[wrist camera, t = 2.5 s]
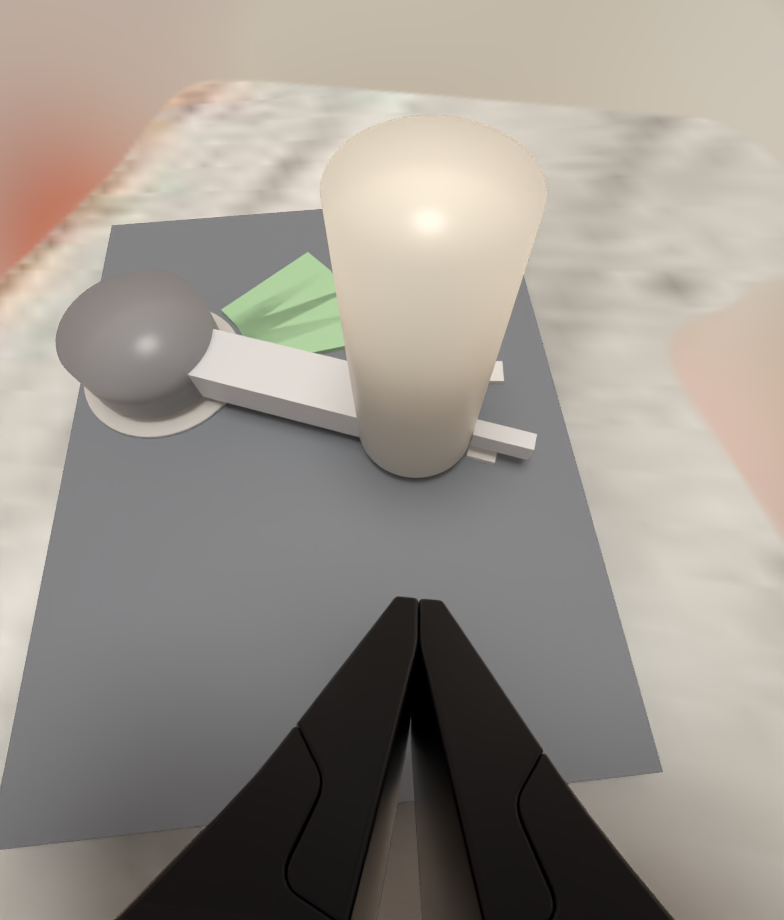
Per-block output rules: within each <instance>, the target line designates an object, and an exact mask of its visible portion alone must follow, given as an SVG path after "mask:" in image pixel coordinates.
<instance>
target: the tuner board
mask: <svg viewBox="0 0 784 920" xmlns="http://www.w3.org/2000/svg"><path fill="white" fill-rule="evenodd" d="M147 269H150V270H161V271H167V272H170V273H174V274H176V275H179V276H181V277H183V278H184V279H186V280H188V281H189V282H190V283H191V284H193V285H194V286H195V287H196V288H197V290H198V291H199V292H200V294H201V296H202V297H203V299H204V301H205V303H206V305H207V307H208V309H209V311H210V313H211V315H212V316H213V318H214V320H215V322H216V324H217V326H218V328H219V330H221V331H225V332H229V333H233V334H237V335H241V336H246V337H250V338H254V339H258V340H262V341H266V342H271V343H275V344H279V345H283V346H287V347H291V348H296V349H300V350H304V351H308V352H312V353H316V354H321V355H325V356H329V357H333V358H337V359H341V360H346V361H347V357H346V351H345V345H344V339H343V332H342V326H341V320H340V314H339V308H338V302H337V296H336V289H335V283H334V277H333V271H332V265H331V259H330V252H329V246H328V240H327V234H326V228H325V222H324V216H323V209H317V210H304V211H291V212H278V213H266V214H253V215H240V216H227V217H214V218H202V219H189V220H176V221H163V222H150V223H138V224H125V225H112V228H111V233H110V238H109V243H108V248H107V253H106V258H105V263H104V268H103V273H102V278H101V281H102V280H104V279H107V278H109V277H111V276H114V275H117V274H120V273H124V272H129V271H135V270H147ZM478 420H482V421H486V422H490V423H494V424H499V425H503V426H507V427H511V428H515V429H519V430H523V431H527V432H531V433H535V434H537V437H536V442H535V448H534V451H533V453H532V454H531V456H530V457H529V459H528V460H525V459H521V458H517V457H513V456H510V455H506V454H502V453H498V452H494V451H490V450H486V449H482V448H478V447H474V446H470V444H469V446H468V448H467V450H466V452H465V453H464V455H463V456H462V458H461V459H460V460H459V461H458V462H457V463H456V464H454V465H453V466H452V467H451V468H449V469H447V470H446V471H444V472H441V473H439V474H436V475H433V476H429V477H423V478H410V477H403V476H399V475H396V474H393V473H391V472H389V471H386V470H385V469H383V468H382V467H380V466H379V465H377V464H376V463H375V462H374V461H373V460H372V459H371V458H370V457H369V456H368V454H367V453H366V451H365V450H364V448H363V446H362V443H361V440H360V437H357V436H353V435H349V434H345V433H341V432H337V431H334V430H330V429H326V428H322V427H318V426H314V425H311V424H307V423H303V422H299V421H295V420H291V419H287V418H284V417H280V416H276V415H272V414H268V413H264V412H261V411H257V410H253V409H249V408H245V407H241V406H237V405H234V404H230V403H226V402H222V401H218V400H214V399H211V398H207V397H202V398H200V399H199V400H198V401H197V402H195V403H194V404H192V405H190V406H189V407H187V408H185V409H183V410H181V411H178V412H176V413H173V414H170V415H166V416H163V417H157V418H133V417H128V416H125V415H122V414H119V413H117V412H115V411H113V410H111V409H110V408H108V407H107V406H106V405H104V404H103V403H102V402H101V401H100V400H99V399H98V398H97V397H96V396H94V395H93V394H92V393H91V392H90V391H89V390H88V389H87V388H86V387H85V386H83V385H82V384H80V389H79V394H78V399H77V404H76V410H75V415H74V420H73V425H72V430H71V435H70V440H69V445H68V450H67V455H66V460H65V465H64V470H63V475H62V480H61V485H60V490H59V495H58V500H57V506H56V511H55V516H54V521H53V526H52V531H51V536H50V541H49V546H48V551H47V556H46V561H45V566H44V571H43V576H42V581H41V586H40V591H39V596H38V602H37V607H36V612H35V617H34V622H33V627H32V632H31V637H30V642H29V647H28V652H27V657H26V662H25V667H24V672H23V677H22V682H21V687H20V692H19V698H18V703H17V708H16V713H15V718H14V723H13V728H12V733H11V738H10V743H9V748H8V753H7V758H6V763H5V768H4V773H3V778H2V783H1V788H0V850H2V849H10V848H19V847H27V846H36V845H44V844H53V843H61V842H70V841H78V840H87V839H96V838H104V837H113V836H121V835H130V834H138V833H147V832H155V831H164V830H172V829H181V828H189V827H198V826H206V825H208V824H209V823H210V822H211V821H212V820H213V819H214V818H215V817H216V816H217V815H218V814H219V813H220V812H221V811H222V810H223V809H224V807H225V806H226V805H227V804H228V803H229V802H230V801H231V800H232V799H233V798H234V797H235V796H236V795H237V794H238V792H239V791H240V790H241V789H242V788H243V787H244V786H245V785H246V784H247V783H248V782H249V781H250V780H251V779H252V777H253V776H254V775H255V774H256V773H257V771H258V770H259V769H260V768H261V767H262V765H263V764H264V763H265V762H266V761H267V759H268V758H269V757H270V756H271V755H272V753H273V752H274V751H275V750H276V749H277V747H278V746H279V745H280V744H281V742H282V741H283V740H284V738H285V737H286V736H287V735H288V733H289V732H290V731H291V729H292V728H293V727H296V724H297V722H298V721H299V720H300V718H301V717H302V716H303V714H304V713H305V712H306V711H307V709H308V708H309V707H310V705H311V704H312V703H313V702H314V700H315V699H316V698H317V696H318V695H319V694H320V693H321V691H322V690H323V689H324V688H325V686H326V685H327V684H328V682H329V681H330V680H331V679H332V677H333V676H334V675H335V673H336V672H337V671H338V670H339V668H340V667H341V666H342V664H343V663H344V662H345V661H346V659H347V658H348V657H349V655H350V654H351V653H352V652H353V650H354V649H355V648H356V646H357V645H358V644H359V643H360V641H361V640H362V639H363V637H364V636H365V635H366V634H367V632H368V631H369V630H370V629H371V627H372V626H373V625H374V623H375V622H376V621H377V620H378V618H379V617H380V616H381V614H382V613H383V612H384V611H385V609H386V608H387V607H388V605H389V604H390V603H391V602H392V600H393V599H394V598H395V597H397V596H402V597H412V598H416V599H418V602H419V601H420V599H434V600H441V601H442V602H444V604H445V605H446V607H447V608H448V610H449V611H450V613H451V614H452V616H453V617H454V618H455V620H456V621H457V623H458V624H459V626H460V627H461V629H462V630H463V632H464V633H465V635H466V636H467V638H468V639H469V641H470V642H471V644H472V645H473V646H474V648H475V649H476V651H477V652H478V654H479V655H480V657H481V658H482V660H483V661H484V663H485V664H486V666H487V667H488V669H489V670H490V671H491V673H492V674H493V676H494V677H495V679H496V680H497V682H498V683H499V685H500V686H501V688H502V689H503V691H504V692H505V694H506V695H507V696H508V698H509V699H510V701H511V702H512V704H513V705H514V707H515V708H516V710H517V711H518V713H519V714H520V716H521V717H522V719H523V720H524V722H525V723H526V724H527V726H528V727H529V729H530V730H531V732H532V733H533V735H534V736H535V738H536V739H537V741H538V742H539V744H540V745H541V747H542V748H543V750H544V752H543V754H547V755H548V756H549V758H550V759H551V761H552V762H553V764H554V765H555V767H556V768H557V770H558V771H559V773H560V774H561V776H562V777H563V779H564V780H565V781H566V783H573V782H582V781H590V780H599V779H607V778H616V777H625V776H633V775H642V774H650V773H659V772H663V771H662V767H661V764H660V760H659V757H658V753H657V750H656V746H655V742H654V739H653V735H652V732H651V728H650V725H649V721H648V717H647V714H646V710H645V707H644V703H643V700H642V696H641V693H640V689H639V685H638V682H637V678H636V675H635V671H634V668H633V664H632V660H631V657H630V653H629V650H628V646H627V643H626V639H625V635H624V632H623V628H622V625H621V621H620V618H619V614H618V611H617V607H616V603H615V600H614V596H613V593H612V589H611V586H610V582H609V578H608V575H607V571H606V568H605V564H604V561H603V557H602V553H601V550H600V546H599V543H598V539H597V536H596V532H595V529H594V525H593V521H592V518H591V514H590V511H589V507H588V504H587V500H586V496H585V493H584V489H583V486H582V482H581V479H580V475H579V471H578V468H577V464H576V461H575V457H574V454H573V450H572V447H571V443H570V439H569V436H568V432H567V429H566V425H565V422H564V418H563V414H562V411H561V407H560V404H559V400H558V397H557V393H556V390H555V386H554V382H553V379H552V375H551V372H550V368H549V365H548V361H547V357H546V354H545V350H544V347H543V343H542V340H541V336H540V332H539V329H538V325H537V322H536V318H535V315H534V311H533V308H532V304H531V300H530V297H529V293H528V290H527V286H526V283H525V279H524V275H523V278H522V281H521V284H520V288H519V291H518V294H517V297H516V300H515V303H514V306H513V309H512V313H511V316H510V319H509V322H508V325H507V328H506V331H505V334H504V338H503V341H502V344H501V347H500V350H499V353H498V356H497V359H496V363H495V366H494V369H493V372H492V375H491V378H490V381H489V384H488V388H487V391H486V394H485V397H484V400H483V403H482V406H481V409H480V413H479V416H478ZM410 728H411V720H410ZM411 801H414V787H413V771H412V756H411V735H410V729H409V737H408V744H407V750H406V756H405V762H404V768H403V773H402V779H401V785H400V791H399V797H398V802H397V803H403V802H411Z"/></svg>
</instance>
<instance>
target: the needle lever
mask: <svg viewBox="0 0 784 920" xmlns="http://www.w3.org/2000/svg"><path fill="white" fill-rule="evenodd" d="M320 197H321V203H322V209H323V216H324V222H325V228H326V234H327V240H328V246H329V252H330V259H331V265H332V271H333V277H334V283H335V289H336V296H337V302H338V308H339V314H340V320H341V326H342V332H343V339H344V345H345V351H346V357H347V361H346V360H341V359H337V358H333V357H329V356H325V355H321V354H316V353H312V352H308V351H304V350H300V349H296V348H291V347H287V346H283V345H279V344H275V343H271V342H266V341H262V340H258V339H254V338H250V337H246V336H241V335H237V334H233V333H229V332H225V331H221V330H219V328H218V326H217V324H216V322H215V320H214V318H213V316H212V315H211V313H210V311H209V309H208V307H207V305H206V303H205V301H204V299H203V297H202V296H201V294H200V292H199V291H198V290H197V288H196V287H195V286H194V285H193V284H191V283H190V282H189V281H188V280H186V279H184V278H183V277H181V276H179V275H176V274H174V273H170V272H167V271H161V270H150V269H147V270H135V271H129V272H124V273H120V274H117V275H114V276H111V277H109V278H107V279H104V280H102V281H100V282H99V283H97V284H95V285H93V286H92V287H90V288H89V289H87V290H86V291H85V292H84V293H82V294H81V295H80V296H79V297H78V298H77V299H76V300H75V301H74V302H73V303H72V304H71V305H70V307H69V308H68V309H67V311H66V312H65V314H64V315H63V317H62V319H61V321H60V323H59V326H58V330H57V334H56V350H57V354H58V357H59V359H60V362H61V363H62V365H63V366H64V368H65V369H66V370H67V371H68V372H69V373H70V374H71V375H72V376H73V377H75V378H76V379H77V380H78V381H79V382H80V383H81V384H82V385H83V386H85V387H86V388H87V389H88V390H89V391H90V392H91V393H92V394H93V395H94V396H96V397H97V398H98V399H99V400H100V401H101V402H102V403H103V404H104V405H106V406H107V407H108V408H110V409H111V410H113V411H115V412H117V413H119V414H122V415H125V416H128V417H133V418H157V417H163V416H166V415H170V414H173V413H176V412H178V411H181V410H183V409H185V408H187V407H189V406H190V405H192V404H194V403H195V402H197V401H198V400H199V399H200V398H202V397H207V398H211V399H214V400H218V401H222V402H226V403H230V404H234V405H237V406H241V407H245V408H249V409H253V410H257V411H261V412H264V413H268V414H272V415H276V416H280V417H284V418H287V419H291V420H295V421H299V422H303V423H307V424H311V425H314V426H318V427H322V428H326V429H330V430H334V431H337V432H341V433H345V434H349V435H353V436H357V437H360V440H361V443H362V446H363V448H364V450H365V451H366V453H367V454H368V456H369V457H370V458H371V459H372V460H373V461H374V462H375V463H376V464H377V465H379V466H380V467H382V468H383V469H385V470H386V471H389V472H391V473H393V474H396V475H399V476H403V477H410V478H423V477H429V476H433V475H436V474H439V473H441V472H444V471H446V470H447V469H449V468H451V467H452V466H453V465H454V464H456V463H457V462H458V461H459V460H460V459H461V458H462V456H463V455H464V453H465V452H466V450H467V448H468V446H469V444H470V446H474V447H478V448H482V449H486V450H490V451H494V452H498V453H502V454H506V455H510V456H513V457H517V458H521V459H525V460H528V459H529V457H530V456H531V454H532V453H533V451H534V448H535V442H536V437H537V434H535V433H531V432H527V431H523V430H519V429H515V428H511V427H507V426H503V425H499V424H494V423H490V422H486V421H482V420H478V416H479V413H480V409H481V406H482V403H483V400H484V397H485V394H486V391H487V388H488V384H489V381H490V378H491V375H492V372H493V369H494V366H495V363H496V359H497V356H498V353H499V350H500V347H501V344H502V341H503V338H504V334H505V331H506V328H507V325H508V322H509V319H510V316H511V313H512V309H513V306H514V303H515V300H516V297H517V294H518V291H519V288H520V284H521V281H522V278H523V275H524V272H525V269H526V266H527V263H528V259H529V256H530V253H531V250H532V247H533V244H534V241H535V238H536V234H537V231H538V228H539V225H540V222H541V219H542V216H543V213H544V209H545V206H546V199H547V189H546V183H545V179H544V175H543V173H542V171H541V169H540V167H539V165H538V163H537V162H536V160H535V159H534V157H533V156H532V155H531V154H530V153H529V152H528V151H527V150H526V149H525V148H524V147H523V146H522V145H521V144H519V143H518V142H517V141H516V140H514V139H513V138H511V137H510V136H508V135H507V134H505V133H503V132H501V131H499V130H497V129H495V128H493V127H490V126H488V125H485V124H482V123H479V122H476V121H472V120H468V119H463V118H459V117H451V116H439V115H423V116H411V117H404V118H399V119H394V120H390V121H387V122H383V123H380V124H378V125H375V126H373V127H370V128H368V129H366V130H364V131H362V132H360V133H358V134H357V135H355V136H354V137H352V138H351V139H349V140H348V141H347V142H346V143H344V144H343V145H342V146H341V147H340V148H339V149H338V150H337V151H336V152H335V153H334V155H333V156H332V157H331V159H330V160H329V162H328V163H327V165H326V167H325V170H324V172H323V175H322V179H321V184H320Z"/></svg>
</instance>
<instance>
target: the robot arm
mask: <svg viewBox="0 0 784 920" xmlns="http://www.w3.org/2000/svg"><path fill="white" fill-rule="evenodd" d="M410 720H411V728H410ZM409 729H410V735H411V756H412V771H413V787H414V802H415V818H416V833H417V848H418V864H419V879H420V895H421V910H422V920H674V919H673V917H672V916H671V915H670V914H669V913H668V911H667V910H666V909H665V908H664V906H663V905H662V904H661V903H660V902H659V900H658V899H657V898H656V897H655V895H654V894H653V893H652V892H651V891H650V889H649V888H648V887H647V886H646V885H645V883H644V882H643V881H642V880H641V878H640V877H639V876H638V875H637V874H636V872H635V871H634V870H633V869H632V867H631V866H630V865H629V864H628V863H627V861H626V860H625V859H624V858H623V857H622V855H621V854H620V853H619V851H618V850H617V849H616V848H615V846H614V845H613V844H612V843H611V841H610V840H609V839H608V838H607V836H606V835H605V834H604V832H603V831H602V830H601V829H600V827H599V826H598V825H597V824H596V822H595V821H594V820H593V819H592V817H591V816H590V815H589V813H588V812H587V811H586V809H585V808H584V806H583V805H582V804H581V802H580V801H579V800H578V798H577V797H576V795H575V794H574V793H573V791H572V790H571V788H570V787H569V786H568V784H567V783H566V781H565V780H564V779H563V777H562V776H561V774H560V773H559V771H558V770H557V768H556V767H555V765H554V764H553V762H552V761H551V759H550V758H549V756H548V755H547V754H543V752H544V750H543V748H542V747H541V745H540V744H539V742H538V741H537V739H536V738H535V736H534V735H533V733H532V732H531V730H530V729H529V727H528V726H527V724H526V723H525V722H524V720H523V719H522V717H521V716H520V714H519V713H518V711H517V710H516V708H515V707H514V705H513V704H512V702H511V701H510V699H509V698H508V696H507V695H506V694H505V692H504V691H503V689H502V688H501V686H500V685H499V683H498V682H497V680H496V679H495V677H494V676H493V674H492V673H491V671H490V670H489V669H488V667H487V666H486V664H485V663H484V661H483V660H482V658H481V657H480V655H479V654H478V652H477V651H476V649H475V648H474V646H473V645H472V644H471V642H470V641H469V639H468V638H467V636H466V635H465V633H464V632H463V630H462V629H461V627H460V626H459V624H458V623H457V621H456V620H455V618H454V617H453V616H452V614H451V613H450V611H449V610H448V608H447V607H446V605H445V604H444V602H442V601H441V600H434V599H420V601H419V602H418V599H416V598H412V597H402V596H397V597H395V598H394V599H393V600H392V602H391V603H390V604H389V605H388V607H387V608H386V609H385V611H384V612H383V613H382V614H381V616H380V617H379V618H378V620H377V621H376V622H375V623H374V625H373V626H372V627H371V629H370V630H369V631H368V632H367V634H366V635H365V636H364V637H363V639H362V640H361V641H360V643H359V644H358V645H357V646H356V648H355V649H354V650H353V652H352V653H351V654H350V655H349V657H348V658H347V659H346V661H345V662H344V663H343V664H342V666H341V667H340V668H339V670H338V671H337V672H336V673H335V675H334V676H333V677H332V679H331V680H330V681H329V682H328V684H327V685H326V686H325V688H324V689H323V690H322V691H321V693H320V694H319V695H318V696H317V698H316V699H315V700H314V702H313V703H312V704H311V705H310V707H309V708H308V709H307V711H306V712H305V713H304V714H303V716H302V717H301V718H300V720H299V721H298V722H297V724H296V727H293V728H292V729H291V731H290V732H289V733H288V735H287V736H286V737H285V738H284V740H283V741H282V742H281V744H280V745H279V746H278V747H277V749H276V750H275V751H274V752H273V753H272V755H271V756H270V757H269V758H268V759H267V761H266V762H265V763H264V764H263V765H262V767H261V768H260V769H259V770H258V771H257V773H256V774H255V775H254V776H253V777H252V779H251V780H250V781H249V782H248V783H247V784H246V785H245V786H244V787H243V788H242V789H241V790H240V791H239V792H238V794H237V795H236V796H235V797H234V798H233V799H232V800H231V801H230V802H229V803H228V804H227V805H226V806H225V807H224V809H223V810H222V811H221V812H220V813H219V814H218V815H217V816H216V817H215V818H214V819H213V820H212V821H211V822H210V823H209V824H208V825H207V826H206V827H205V828H204V829H203V830H202V831H201V832H200V833H199V834H198V835H197V836H196V837H195V838H194V839H193V840H192V841H191V842H190V843H189V844H188V845H187V846H186V847H185V848H184V849H183V851H182V852H181V853H180V854H179V855H178V856H177V857H176V858H175V859H174V860H173V861H172V862H171V863H170V864H169V865H168V866H167V867H166V868H165V869H164V870H163V871H162V872H161V873H160V874H159V875H158V876H157V877H156V878H155V879H154V880H153V881H152V882H151V883H150V884H149V885H148V886H147V887H146V888H145V889H144V890H143V891H142V892H141V893H140V894H139V895H138V897H137V898H136V899H135V900H134V901H133V902H132V903H131V904H130V905H129V906H128V907H127V908H126V909H124V910H123V911H122V912H121V913H120V914H119V915H118V916H117V917H116V918H115V919H114V920H377V918H378V912H379V906H380V900H381V894H382V889H383V883H384V877H385V871H386V866H387V860H388V854H389V848H390V843H391V837H392V831H393V825H394V820H395V814H396V808H397V802H398V797H399V791H400V785H401V779H402V773H403V768H404V762H405V756H406V750H407V744H408V737H409Z"/></svg>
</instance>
